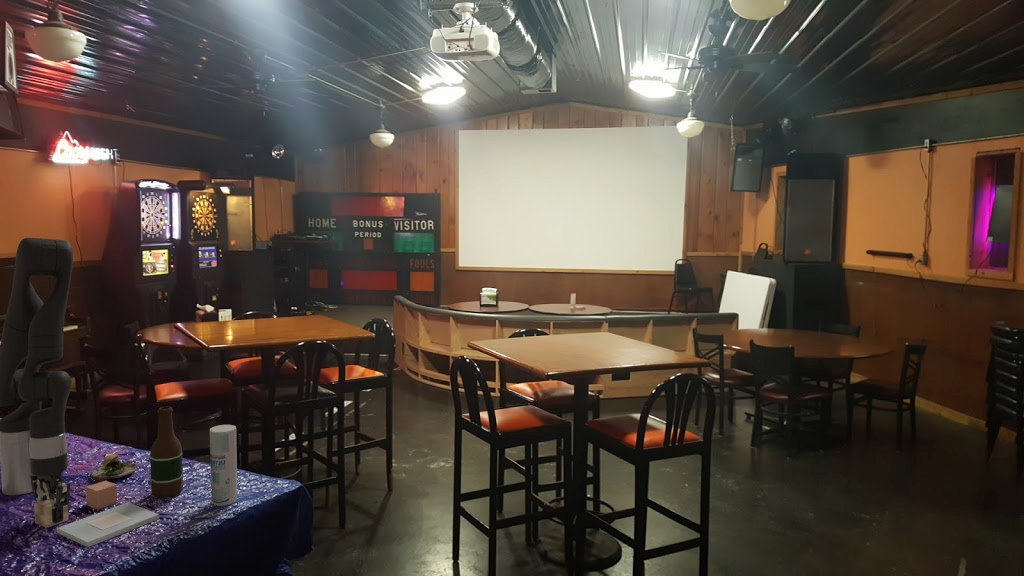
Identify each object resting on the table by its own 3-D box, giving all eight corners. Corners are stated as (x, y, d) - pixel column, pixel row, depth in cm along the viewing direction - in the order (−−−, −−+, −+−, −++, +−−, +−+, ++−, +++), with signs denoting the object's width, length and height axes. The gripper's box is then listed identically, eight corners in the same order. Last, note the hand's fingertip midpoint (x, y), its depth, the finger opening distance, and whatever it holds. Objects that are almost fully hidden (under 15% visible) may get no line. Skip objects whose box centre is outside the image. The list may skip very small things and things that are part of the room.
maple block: (35, 522, 161) (34, 503, 161) (57, 515, 166) (56, 496, 165) (46, 527, 159) (45, 508, 159) (68, 520, 163) (67, 500, 163)
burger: (103, 486, 184) (102, 460, 184) (82, 477, 190) (81, 452, 190) (146, 473, 194) (145, 448, 194) (124, 464, 201) (123, 441, 200)
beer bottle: (169, 500, 176) (167, 412, 173) (144, 497, 177) (141, 410, 175) (189, 489, 183) (187, 405, 181) (165, 486, 185) (162, 402, 182)
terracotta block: (86, 505, 172) (85, 486, 171) (106, 498, 176) (105, 480, 176) (97, 509, 170) (96, 491, 169) (117, 502, 174) (116, 484, 173)
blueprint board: (57, 532, 157) (57, 527, 157) (128, 506, 171) (128, 502, 171) (87, 547, 150) (87, 541, 150) (158, 518, 165) (158, 513, 165)
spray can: (242, 497, 179) (241, 425, 177) (227, 507, 173) (226, 433, 171) (221, 494, 180) (219, 423, 178) (205, 504, 174) (204, 430, 172)
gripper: (81, 453, 160) (84, 520, 162) (49, 442, 167) (52, 506, 169) (47, 462, 154) (50, 532, 156) (16, 451, 161) (19, 518, 163)
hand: (51, 518), depth 162 cm, fingers closed on maple block, 5 cm apart
